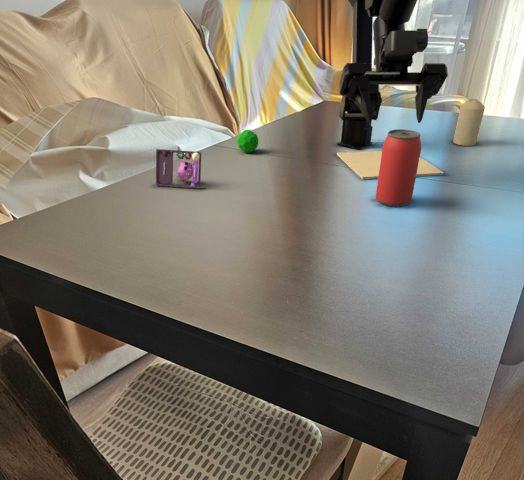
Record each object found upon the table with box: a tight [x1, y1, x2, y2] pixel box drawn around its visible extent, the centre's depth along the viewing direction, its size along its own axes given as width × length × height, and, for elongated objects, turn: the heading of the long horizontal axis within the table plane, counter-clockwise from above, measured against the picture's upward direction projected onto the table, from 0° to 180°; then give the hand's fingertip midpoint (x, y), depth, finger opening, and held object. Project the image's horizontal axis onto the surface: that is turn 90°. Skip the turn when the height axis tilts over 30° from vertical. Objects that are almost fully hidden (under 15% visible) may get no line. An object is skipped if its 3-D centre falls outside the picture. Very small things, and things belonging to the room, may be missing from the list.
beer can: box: [375, 128, 422, 207], centre depth 91 cm, size 7×7×12 cm
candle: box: [452, 98, 486, 147], centre depth 125 cm, size 6×6×10 cm
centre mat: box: [336, 150, 445, 180], centre depth 113 cm, size 18×18×1 cm
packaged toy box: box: [155, 148, 202, 189], centre depth 100 cm, size 7×5×9 cm
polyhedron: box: [236, 129, 259, 154], centre depth 119 cm, size 5×5×5 cm
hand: (395, 121), depth 92 cm, fingers open, 9 cm apart
